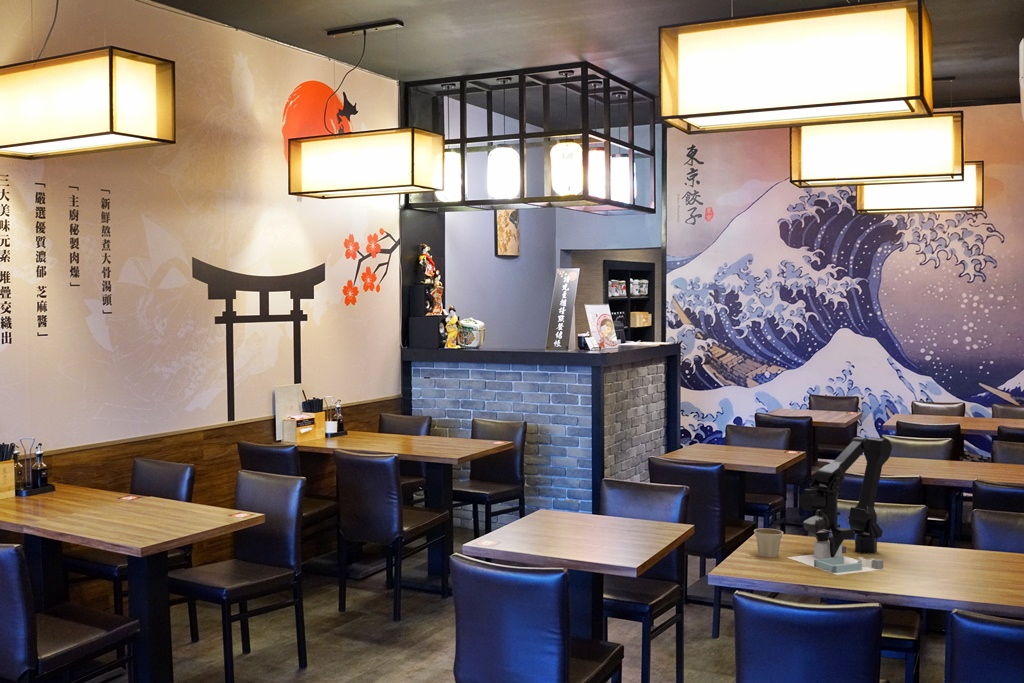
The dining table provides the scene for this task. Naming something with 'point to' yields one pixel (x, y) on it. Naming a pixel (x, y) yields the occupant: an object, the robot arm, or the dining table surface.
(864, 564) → the clips
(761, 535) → the flower pot
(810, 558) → the board
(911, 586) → the dining table surface
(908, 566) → the dining table surface
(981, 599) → the dining table surface
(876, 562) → the grey blocky piece
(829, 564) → the holder
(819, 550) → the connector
